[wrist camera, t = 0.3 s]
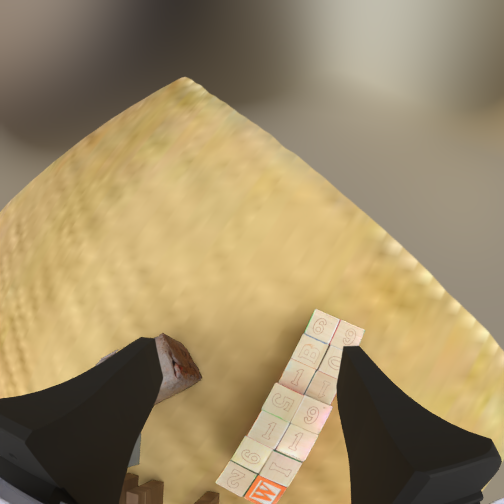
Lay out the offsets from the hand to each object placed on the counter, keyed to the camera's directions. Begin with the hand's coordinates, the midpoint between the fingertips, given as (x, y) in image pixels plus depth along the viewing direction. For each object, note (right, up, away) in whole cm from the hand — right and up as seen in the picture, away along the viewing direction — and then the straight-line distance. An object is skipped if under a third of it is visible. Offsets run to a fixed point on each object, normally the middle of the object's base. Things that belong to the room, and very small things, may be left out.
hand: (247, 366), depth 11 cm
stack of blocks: (+6, -16, +26) cm, 31 cm away
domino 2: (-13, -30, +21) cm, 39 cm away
